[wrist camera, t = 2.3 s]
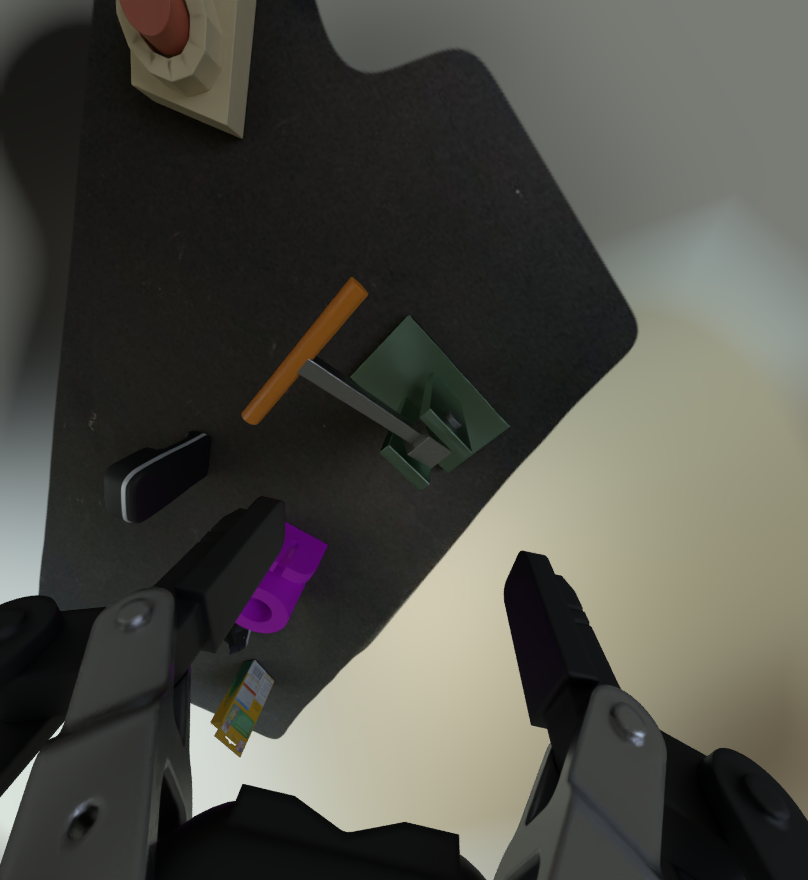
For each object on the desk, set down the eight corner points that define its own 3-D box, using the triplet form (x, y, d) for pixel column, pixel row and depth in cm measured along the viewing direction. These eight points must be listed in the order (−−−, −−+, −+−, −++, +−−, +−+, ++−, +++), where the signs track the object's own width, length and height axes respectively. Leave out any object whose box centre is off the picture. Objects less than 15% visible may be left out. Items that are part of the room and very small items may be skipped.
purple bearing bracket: (292, 604, 51) (273, 641, 45) (239, 577, 50) (213, 612, 44) (332, 547, 45) (316, 582, 39) (272, 515, 43) (247, 546, 38)
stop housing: (155, -79, 22) (97, -157, 18) (259, -31, 22) (224, -97, 18) (154, 101, 26) (108, 68, 22) (243, 139, 26) (211, 112, 23)
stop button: (140, -30, 20) (114, -60, 19) (191, -8, 20) (170, -34, 19) (140, 43, 22) (117, 22, 20) (188, 64, 22) (168, 45, 20)
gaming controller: (240, 615, 57) (250, 650, 53) (213, 626, 54) (222, 664, 50) (248, 579, 53) (260, 615, 49) (219, 589, 50) (229, 628, 45)
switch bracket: (352, 374, 34) (301, 414, 21) (409, 314, 30) (389, 318, 18) (447, 468, 37) (451, 550, 25) (507, 423, 34) (546, 490, 21)
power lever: (244, 401, 18) (238, 427, 17) (348, 269, 15) (354, 285, 13) (390, 474, 26) (396, 496, 25) (480, 399, 23) (494, 419, 21)
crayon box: (243, 660, 60) (201, 736, 49) (255, 658, 59) (214, 735, 48) (263, 682, 62) (227, 759, 52) (275, 680, 61) (241, 758, 51)
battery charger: (185, 423, 39) (91, 465, 28) (213, 434, 39) (131, 480, 28) (182, 466, 42) (97, 519, 31) (209, 476, 42) (132, 532, 31)
